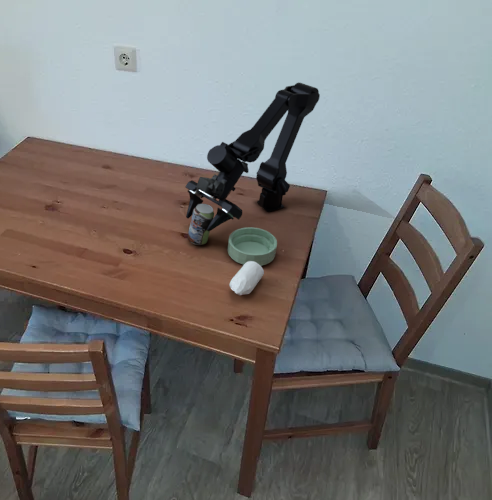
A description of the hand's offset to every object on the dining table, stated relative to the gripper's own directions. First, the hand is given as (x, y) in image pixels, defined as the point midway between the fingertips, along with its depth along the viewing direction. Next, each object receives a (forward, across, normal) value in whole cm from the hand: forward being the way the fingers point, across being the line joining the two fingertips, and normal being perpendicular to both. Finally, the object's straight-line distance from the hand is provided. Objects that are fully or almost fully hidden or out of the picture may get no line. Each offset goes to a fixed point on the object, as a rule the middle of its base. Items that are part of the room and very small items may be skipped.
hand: (197, 224), depth 156 cm
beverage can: (+4, 0, +6) cm, 7 cm away
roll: (+8, +23, +2) cm, 25 cm away
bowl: (-1, +14, +11) cm, 18 cm away
